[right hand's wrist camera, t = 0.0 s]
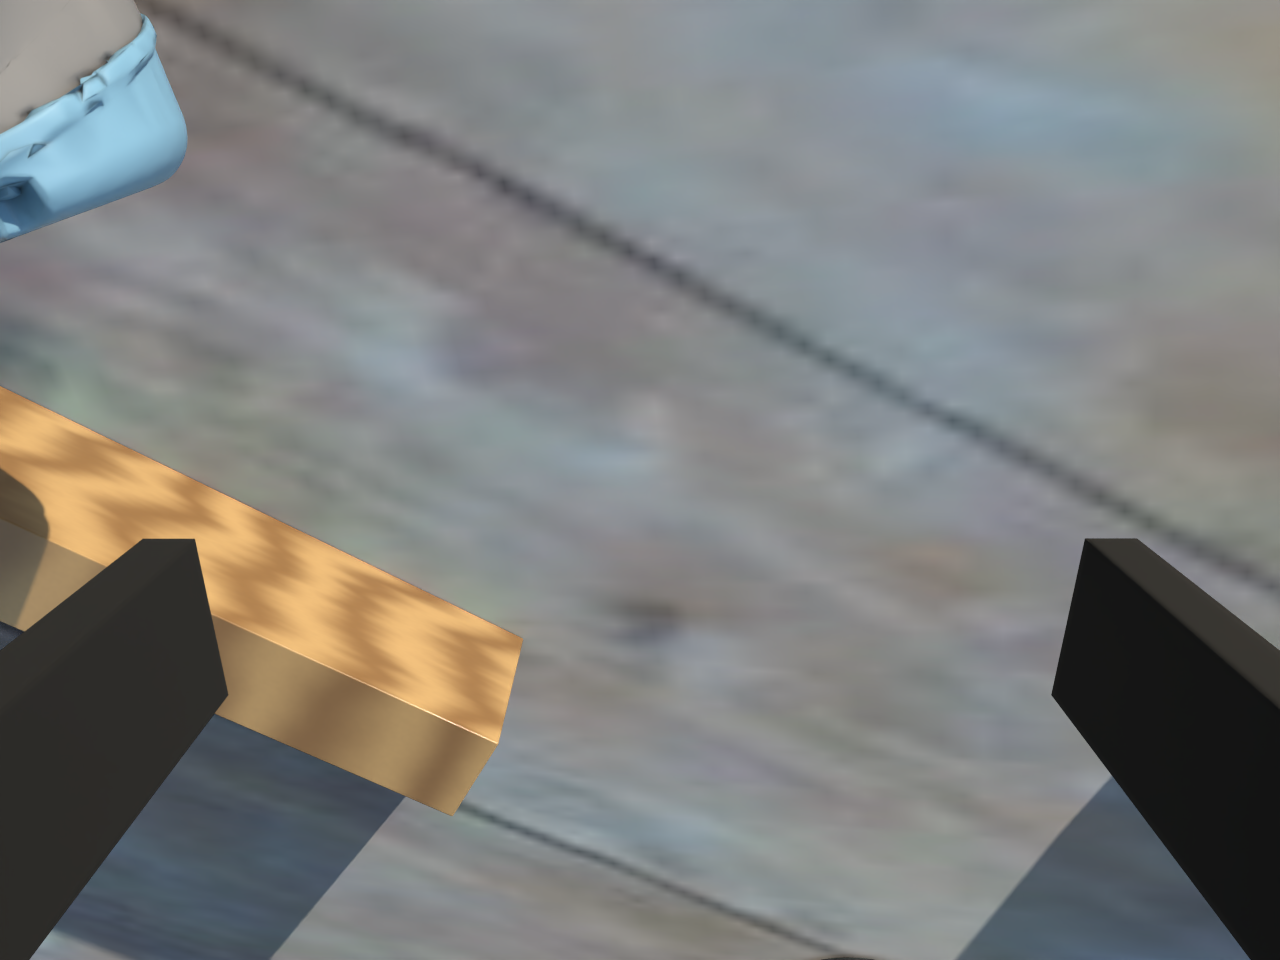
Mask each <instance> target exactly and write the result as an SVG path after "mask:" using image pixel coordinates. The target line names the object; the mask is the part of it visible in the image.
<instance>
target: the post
mask: <svg viewBox="0 0 1280 960" xmlns="http://www.w3.org/2000/svg"><path fill="white" fill-rule="evenodd" d="M142 539H195V541H196V546H197V551H198V555H199V560H200V565H201V569H202V574H203V578H204V583H205V588H206V592H207V597H208V602H209V606H210V611H211V616H212V620H213V625H214V630H215V634H216V639H217V644H218V648H219V653H220V657H221V662H222V667H223V671H224V676H225V681H226V685H227V690H228V696H227V698H226V699H225V700H224V702H223V703H222V704H221V706H220V707H219V708H218V710H217V711H216V712H215V714H216V715H219V716H221V717H223V718H226V719H228V720H230V721H233V722H235V723H237V724H240V725H242V726H244V727H247V728H249V729H251V730H253V731H256V732H258V733H260V734H263V735H265V736H267V737H270V738H272V739H274V740H277V741H279V742H281V743H284V744H286V745H288V746H290V747H293V748H295V749H297V750H300V751H302V752H304V753H307V754H309V755H311V756H314V757H316V758H318V759H321V760H323V761H325V762H328V763H330V764H332V765H334V766H337V767H339V768H341V769H344V770H346V771H348V772H351V773H353V774H355V775H358V776H360V777H362V778H365V779H367V780H369V781H372V782H374V783H376V784H378V785H381V786H383V787H385V788H388V789H390V790H392V791H395V792H397V793H399V794H402V795H404V796H406V797H409V798H411V799H413V800H415V801H418V802H420V803H422V804H425V805H427V806H429V807H432V808H434V809H436V810H439V811H441V812H443V813H446V814H448V815H450V816H453V815H454V813H455V812H456V810H457V808H458V807H459V805H460V804H461V802H462V801H463V799H464V797H465V796H466V794H467V793H468V791H469V789H470V788H471V786H472V785H473V783H474V782H475V780H476V778H477V777H478V775H479V774H480V772H481V771H482V769H483V767H484V766H485V764H486V763H487V761H488V759H489V758H490V756H491V755H492V753H493V752H494V750H495V748H496V747H497V745H498V743H499V739H500V734H501V730H502V726H503V722H504V718H505V713H506V709H507V705H508V701H509V697H510V692H511V688H512V684H513V680H514V676H515V671H516V667H517V663H518V659H519V655H520V650H521V646H522V642H523V639H522V638H520V637H518V636H516V635H514V634H512V633H510V632H508V631H506V630H504V629H502V628H500V627H498V626H496V625H493V624H491V623H489V622H487V621H485V620H483V619H481V618H479V617H477V616H475V615H473V614H471V613H469V612H467V611H464V610H462V609H460V608H458V607H456V606H454V605H452V604H450V603H448V602H446V601H444V600H442V599H440V598H438V597H435V596H433V595H431V594H429V593H427V592H425V591H423V590H421V589H419V588H417V587H415V586H413V585H411V584H409V583H406V582H404V581H402V580H400V579H398V578H396V577H394V576H392V575H390V574H388V573H386V572H384V571H382V570H380V569H378V568H375V567H373V566H371V565H369V564H367V563H365V562H363V561H361V560H359V559H357V558H355V557H353V556H351V555H349V554H346V553H344V552H342V551H340V550H338V549H336V548H334V547H332V546H330V545H328V544H326V543H324V542H322V541H320V540H317V539H315V538H313V537H311V536H309V535H307V534H305V533H303V532H301V531H299V530H297V529H295V528H293V527H291V526H289V525H286V524H284V523H282V522H280V521H278V520H276V519H274V518H272V517H270V516H268V515H266V514H264V513H262V512H260V511H257V510H255V509H253V508H251V507H249V506H247V505H245V504H243V503H241V502H239V501H237V500H235V499H233V498H231V497H228V496H226V495H224V494H222V493H220V492H218V491H216V490H214V489H212V488H210V487H208V486H206V485H204V484H202V483H199V482H197V481H195V480H193V479H191V478H189V477H187V476H185V475H183V474H181V473H179V472H177V471H175V470H173V469H171V468H168V467H166V466H164V465H162V464H160V463H158V462H156V461H154V460H152V459H150V458H148V457H146V456H144V455H142V454H139V453H137V452H135V451H133V450H131V449H129V448H127V447H125V446H123V445H121V444H119V443H117V442H115V441H113V440H110V439H108V438H106V437H104V436H102V435H100V434H98V433H96V432H94V431H92V430H90V429H88V428H86V427H84V426H82V425H79V424H77V423H75V422H73V421H71V420H69V419H67V418H65V417H63V416H61V415H59V414H57V413H55V412H53V411H50V410H48V409H46V408H44V407H42V406H40V405H38V404H36V403H34V402H32V401H30V400H28V399H26V398H24V397H21V396H19V395H17V394H15V393H13V392H11V391H9V390H7V389H5V388H3V387H1V386H0V621H1V622H3V623H6V624H8V625H10V626H13V627H15V628H17V629H20V630H22V631H24V632H25V631H26V630H27V629H28V628H30V627H31V626H32V625H34V624H35V623H36V622H37V621H39V620H40V619H41V618H42V617H44V616H45V615H46V614H48V613H49V612H50V611H51V610H53V609H54V608H55V607H57V606H58V605H59V604H60V603H62V602H63V601H64V600H65V599H67V598H68V597H69V596H71V595H72V594H73V593H74V592H76V591H77V590H78V589H79V588H81V587H82V586H83V585H85V584H86V583H87V582H88V581H90V580H91V579H92V578H93V577H95V576H96V575H97V574H99V573H100V572H101V571H102V570H104V569H105V568H106V567H107V566H109V565H110V564H111V563H113V562H114V561H115V560H116V559H118V558H119V557H120V556H121V555H123V554H124V553H125V552H127V551H128V550H129V549H130V548H132V547H133V546H134V545H135V544H137V543H138V542H139V541H141V540H142Z"/></svg>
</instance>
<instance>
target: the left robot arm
mask: <svg viewBox="0 0 1280 960" xmlns="http://www.w3.org/2000/svg"><path fill="white" fill-rule="evenodd" d="M156 36H157V35H156V33H155V30H154V27H153V26H152V24H151V22H150V20H149V19H148V18H147V16H145V15H143V14H141V13H140V12H139V10H138V8H137V6H136V4H135V2H134V0H0V243H1V242H4V241H7V240H10V239H12V238H15V237H18V236H20V235H23V234H26V233H28V232H31V231H34V230H37V229H39V228H42V227H45V226H47V225H50V224H53V223H56V222H58V221H61V220H64V219H66V218H69V217H72V216H75V215H77V214H80V213H83V212H86V211H88V210H91V209H94V208H97V207H99V206H102V205H105V204H107V203H110V202H113V201H115V200H118V199H121V198H124V197H126V196H129V195H132V194H134V193H137V192H140V191H143V190H145V189H148V188H151V187H153V186H156V185H158V184H160V183H162V182H164V181H166V180H167V179H168V178H170V177H171V176H172V175H173V174H174V173H175V172H176V171H177V169H178V168H179V166H180V165H181V163H182V161H183V159H184V156H185V152H186V148H187V130H186V124H185V121H184V117H183V115H182V112H181V110H180V107H179V105H178V103H177V100H176V98H175V96H174V93H173V91H172V88H171V86H170V84H169V81H168V79H167V77H166V74H165V72H164V69H163V67H162V64H161V62H160V59H159V57H158V54H157V52H156V49H155V45H156Z"/></svg>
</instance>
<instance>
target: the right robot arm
mask: <svg viewBox="0 0 1280 960" xmlns="http://www.w3.org/2000/svg"><path fill="white" fill-rule="evenodd" d="M227 696H228V690H227V685H226V681H225V676H224V671H223V667H222V662H221V657H220V653H219V648H218V644H217V639H216V634H215V630H214V625H213V620H212V616H211V611H210V606H209V602H208V597H207V592H206V588H205V583H204V578H203V574H202V569H201V565H200V560H199V555H198V551H197V546H196V541H195V539H142V540H141V541H139V542H138V543H137V544H135V545H134V546H133V547H132V548H130V549H129V550H128V551H127V552H125V553H124V554H123V555H121V556H120V557H119V558H118V559H116V560H115V561H114V562H113V563H111V564H110V565H109V566H107V567H106V568H105V569H104V570H102V571H101V572H100V573H99V574H97V575H96V576H95V577H93V578H92V579H91V580H90V581H88V582H87V583H86V584H85V585H83V586H82V587H81V588H79V589H78V590H77V591H76V592H74V593H73V594H72V595H71V596H69V597H68V598H67V599H65V600H64V601H63V602H62V603H60V604H59V605H58V606H57V607H55V608H54V609H53V610H51V611H50V612H49V613H48V614H46V615H45V616H44V617H42V618H41V619H40V620H39V621H37V622H36V623H35V624H34V625H32V626H31V627H30V628H28V629H27V630H26V631H25V632H23V633H22V634H21V635H20V636H18V637H17V638H16V639H14V640H13V641H12V642H11V643H9V644H8V645H7V646H6V647H4V648H3V649H2V650H0V960H29V959H30V958H31V957H32V955H33V954H34V953H35V951H36V950H37V949H38V947H39V946H40V945H41V943H42V942H43V941H44V939H45V938H46V937H47V935H48V934H49V933H50V931H51V930H52V929H53V928H54V926H55V925H56V924H57V922H58V921H59V920H60V918H61V917H62V916H63V914H64V913H65V912H66V910H67V909H68V908H69V906H70V905H71V904H72V902H73V901H74V900H75V898H76V897H77V896H78V894H79V893H80V892H81V890H82V889H83V888H84V886H85V885H86V884H87V882H88V881H89V880H90V878H91V877H92V876H93V874H94V873H95V872H96V870H97V869H98V868H99V866H100V865H101V864H102V862H103V861H104V860H105V858H106V857H107V856H108V854H109V853H110V852H111V850H112V849H113V848H114V846H115V845H116V844H117V842H118V841H119V840H120V839H121V837H122V836H123V835H124V833H125V832H126V831H127V829H128V828H129V827H130V825H131V824H132V823H133V821H134V820H135V819H136V817H137V816H138V815H139V813H140V812H141V811H142V809H143V808H144V807H145V805H146V804H147V803H148V801H149V800H150V799H151V797H152V796H153V795H154V793H155V792H156V791H157V789H158V788H159V787H160V785H161V784H162V783H163V781H164V780H165V779H166V777H167V776H168V775H169V773H170V772H171V771H172V769H173V768H174V767H175V765H176V764H177V763H178V761H179V760H180V759H181V757H182V756H183V755H184V753H185V752H186V751H187V750H188V748H189V747H190V746H191V744H192V743H193V742H194V740H195V739H196V738H197V736H198V735H199V734H200V732H201V731H202V730H203V728H204V727H205V726H206V724H207V723H208V722H209V720H210V719H211V718H212V716H213V715H214V714H215V712H216V711H217V710H218V708H219V707H220V706H221V704H222V703H223V702H224V700H225V699H226V698H227ZM1052 696H1053V698H1054V699H1055V700H1056V702H1057V703H1058V704H1059V706H1060V707H1061V708H1062V710H1063V711H1064V712H1065V714H1066V715H1067V716H1068V718H1069V719H1070V720H1071V722H1072V723H1073V724H1074V726H1075V727H1076V728H1077V730H1078V731H1079V732H1080V734H1081V735H1082V736H1083V738H1084V739H1085V740H1086V742H1087V743H1088V744H1089V746H1090V747H1091V748H1092V750H1093V751H1094V752H1095V753H1096V755H1097V756H1098V757H1099V759H1100V760H1101V761H1102V763H1103V764H1104V765H1105V767H1106V768H1107V769H1108V771H1109V772H1110V773H1111V775H1112V776H1113V777H1114V779H1115V780H1116V781H1117V783H1118V784H1119V785H1120V787H1121V788H1122V789H1123V791H1124V792H1125V793H1126V795H1127V796H1128V797H1129V799H1130V800H1131V801H1132V803H1133V804H1134V805H1135V807H1136V808H1137V809H1138V811H1139V812H1140V813H1141V815H1142V816H1143V817H1144V819H1145V820H1146V821H1147V823H1148V824H1149V825H1150V827H1151V828H1152V829H1153V831H1154V832H1155V833H1156V835H1157V836H1158V837H1159V839H1160V840H1161V841H1162V842H1163V844H1164V845H1165V846H1166V848H1167V849H1168V850H1169V852H1170V853H1171V854H1172V856H1173V857H1174V858H1175V860H1176V861H1177V862H1178V864H1179V865H1180V866H1181V868H1182V869H1183V870H1184V872H1185V873H1186V874H1187V876H1188V877H1189V878H1190V880H1191V881H1192V882H1193V884H1194V885H1195V886H1196V888H1197V889H1198V890H1199V892H1200V893H1201V894H1202V896H1203V897H1204V898H1205V900H1206V901H1207V902H1208V904H1209V905H1210V906H1211V908H1212V909H1213V910H1214V912H1215V913H1216V914H1217V916H1218V917H1219V918H1220V920H1221V921H1222V922H1223V924H1224V925H1225V926H1226V928H1227V929H1228V930H1229V931H1230V933H1231V934H1232V935H1233V937H1234V938H1235V939H1236V941H1237V942H1238V943H1239V945H1240V946H1241V947H1242V949H1243V950H1244V951H1245V953H1246V954H1247V955H1248V957H1249V958H1250V959H1251V960H1280V650H1278V649H1277V648H1276V647H1274V646H1273V645H1272V644H1271V643H1269V642H1268V641H1267V640H1266V639H1264V638H1263V637H1262V636H1260V635H1259V634H1258V633H1257V632H1255V631H1254V630H1253V629H1252V628H1250V627H1249V626H1248V625H1246V624H1245V623H1244V622H1243V621H1241V620H1240V619H1239V618H1238V617H1236V616H1235V615H1234V614H1232V613H1231V612H1230V611H1229V610H1227V609H1226V608H1225V607H1223V606H1222V605H1221V604H1220V603H1218V602H1217V601H1216V600H1215V599H1213V598H1212V597H1211V596H1209V595H1208V594H1207V593H1206V592H1204V591H1203V590H1202V589H1201V588H1199V587H1198V586H1197V585H1195V584H1194V583H1193V582H1192V581H1190V580H1189V579H1188V578H1187V577H1185V576H1184V575H1183V574H1181V573H1180V572H1179V571H1178V570H1176V569H1175V568H1174V567H1173V566H1171V565H1170V564H1169V563H1167V562H1166V561H1165V560H1164V559H1162V558H1161V557H1160V556H1159V555H1157V554H1156V553H1155V552H1153V551H1152V550H1151V549H1150V548H1148V547H1147V546H1146V545H1145V544H1143V543H1142V542H1141V541H1139V540H1138V539H1085V541H1084V546H1083V551H1082V555H1081V560H1080V565H1079V569H1078V574H1077V578H1076V583H1075V588H1074V592H1073V597H1072V602H1071V606H1070V611H1069V616H1068V620H1067V625H1066V630H1065V634H1064V639H1063V644H1062V648H1061V653H1060V657H1059V662H1058V667H1057V671H1056V676H1055V681H1054V685H1053V690H1052ZM823 960H873V959H865V958H831V959H823Z"/></svg>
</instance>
